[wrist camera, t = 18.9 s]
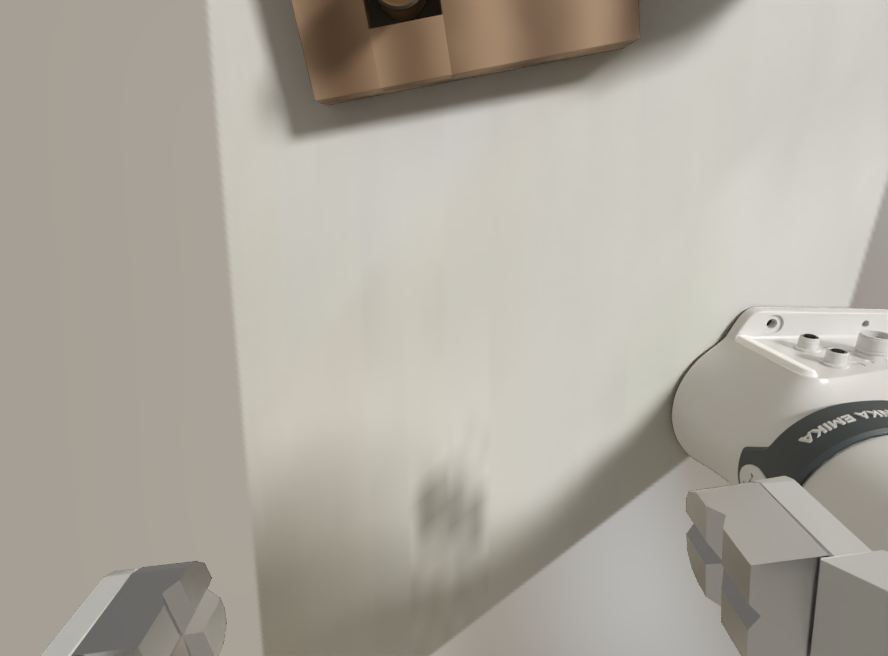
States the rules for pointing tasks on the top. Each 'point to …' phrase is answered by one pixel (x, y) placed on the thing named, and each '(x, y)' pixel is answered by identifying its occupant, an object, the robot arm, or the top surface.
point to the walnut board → (450, 41)
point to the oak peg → (402, 8)
